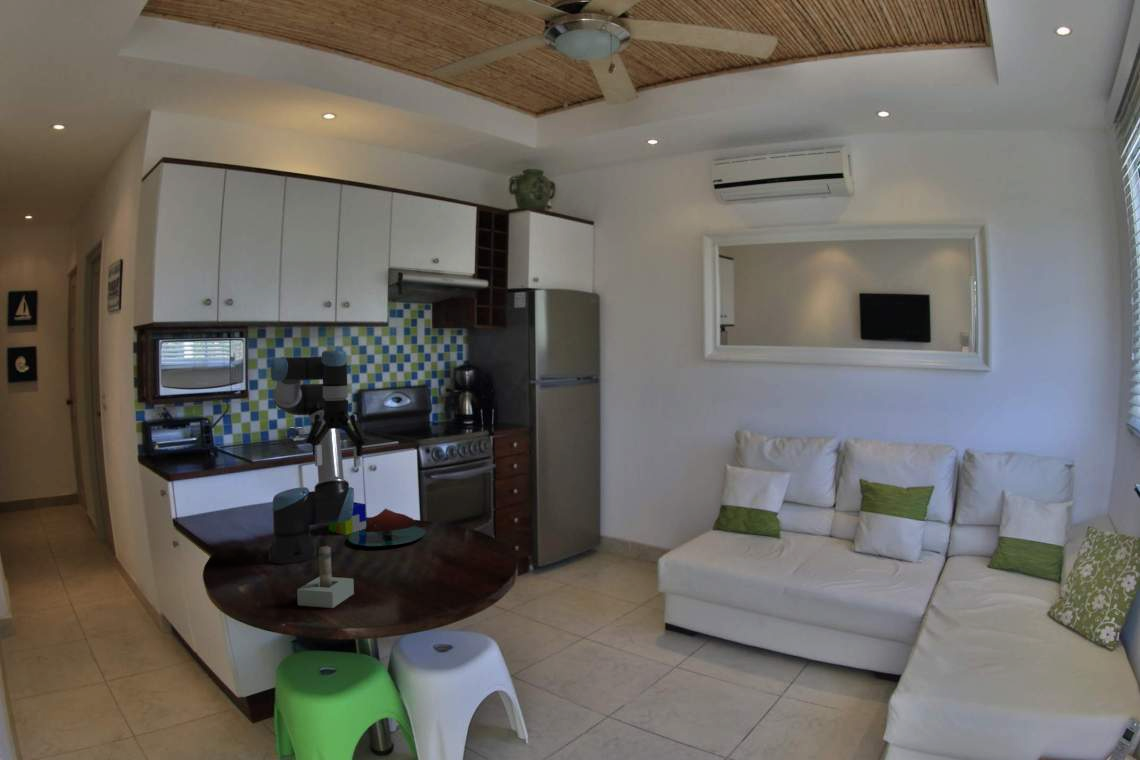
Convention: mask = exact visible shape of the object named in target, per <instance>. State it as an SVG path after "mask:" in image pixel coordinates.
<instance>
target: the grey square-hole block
mask: <svg viewBox="0 0 1140 760" xmlns="http://www.w3.org/2000/svg"><path fill="white" fill-rule="evenodd" d="M354 584H355V583H354V578H349V577H335V576H332V586H331V587H329V588H325V587H320V576H318V577H316V578H314V579H313V580H311V581H309V582H307V583H306V584H304V585H303V586H301V587H299V588H297V589H296V592H297V593H296V595H297V606H304V607H314V608H315V607H318V608H325V609H326V608H329V609H333V608H335V607H337V606H338V605H339V604H341V603H342V602H344V601H345V600H347V599H348V598H349V597H351V596H353V595H354V594H355V590H354V589H355V587H354V586H355V585H354Z"/></svg>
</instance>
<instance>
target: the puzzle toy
mask: <svg viewBox="0 0 1140 760" xmlns="http://www.w3.org/2000/svg"><path fill="white" fill-rule="evenodd" d="M366 505H367V504H366V503H361V502H355V501H354V504H353V513H352V517H351V519H350V520H348V521H342V522H339V523H337V522H335V523H328V532H330V531H332V532H331V533H335V532H336V533H335V534H341V535H345V536H347V535H351V534H353V532H354V533H355V532H356V531H359V530H362V529H365V528H366V526H367V511H366V509H367V508H366V507H367V506H366Z"/></svg>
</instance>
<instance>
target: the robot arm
mask: <svg viewBox="0 0 1140 760" xmlns="http://www.w3.org/2000/svg"><path fill="white" fill-rule="evenodd" d="M270 379H271V380H272V381H273V382H276V386H275V388H274V390H273V392H272V393H273V394H272V398H273V403H274V404H275V406H276V407H278V408H279V409H280V410H281V411H283V412H285V413H287V414H290V415H294V416H308V417H309V420H310V421H311V422H312V423H313V425H311V426H312V427H311V429H310V431H309V434H308V437H307V439H306V443H307V444H310V445H311V446H312V455H313V456H314V462H315V463H314V465H315V467H317V476H318V477H317V478H318V479H317V480H318V482H317V483H316V484H315V485H314V490H313V491H310V489H309V488H308V487H304V486H303V487H296V488H295V487H294V488H290V489H285V490H283V491H281V492H278V493H277V494H275V495H274V497H273V499H272V508H271V510H272V514H273V516H272V517H273V519H272V520H273V539H272V543H271V546H270V550H269V552H268V553H269V554H268V560H269V562H270V563H273V564H278V565H285V564H286V565H287V564H296V563H300V562H302V563H303V562H306V561H308V560H311V559H313V558H315V557H316V556H317V548H316V547H317V546H316V545H315V543H314V540H313V537H312V534H311V526H316V525H324V524H326V525H327V524H329V523H335V522H337V523H339V522H342V521H348V520H350V519H351V517H352V513H353V504H354V502H355V501H354V500H355V491H354V490H355V489H354V487H352V486H350V485H349V481H348V480H346V479H345V477H344V468H343V466H344V465H343V456H342V446H341V445H342V444H341V435H340V429H341V430H342V431H344V433H345V434H346V435H347V436H348V438H349V439H351V441H352V443H353V444H354V446H353V447H352V448H353V449H352V450H353V468H358V467H360V466H361V465H362V464H361V457H362V456H363V446H364V445H365V444H368V443H369V440H368V438H367V436H366V433H365V432H364V430H363V428H362V425H361V423H360V422H359V421H360V420H359V416H358V414H357V413H356V414H355V413H354V414H351V415H349V399H347V398H349V387H348V386H349V385H348V357H347V352H346V351H345V350H323V351H322V352H321V356H296V357H295V356H294V357H293V356H290V357H289V356H287V357H285V356H281V357H273V358H271V359H270ZM316 380H317V381H320V380H322V383H309V384H308V383H307V384H303V383H302V384H301V382H302V381H316ZM348 421H349V422H350V423H349V422H348ZM350 424H351V425H350Z"/></svg>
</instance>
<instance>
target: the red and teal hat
mask: <svg viewBox="0 0 1140 760" xmlns="http://www.w3.org/2000/svg"><path fill="white" fill-rule="evenodd" d="M425 535H426V531H425V530H424V529H423V528H421V527H418V526H416V524H415V521H414V518H412V517H410V516H408V515H405V514H403V513H399V512H395V511H392V510H390V509H388V508H384V509H383V510H382V511H381V512H380V513H378V514H376V515H375V516H373V517H370V518H369V520H368V522H367V524H366V528H365V529H364V530H360V531H357V532H354V533H351V534H349V535H348V541H349V543H352V544H354V545H358V546H365V547H385V546H394V545H402V544H408V543H412V542H414V541H417V540H419V539H421V538H423V537H424V536H425Z"/></svg>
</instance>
